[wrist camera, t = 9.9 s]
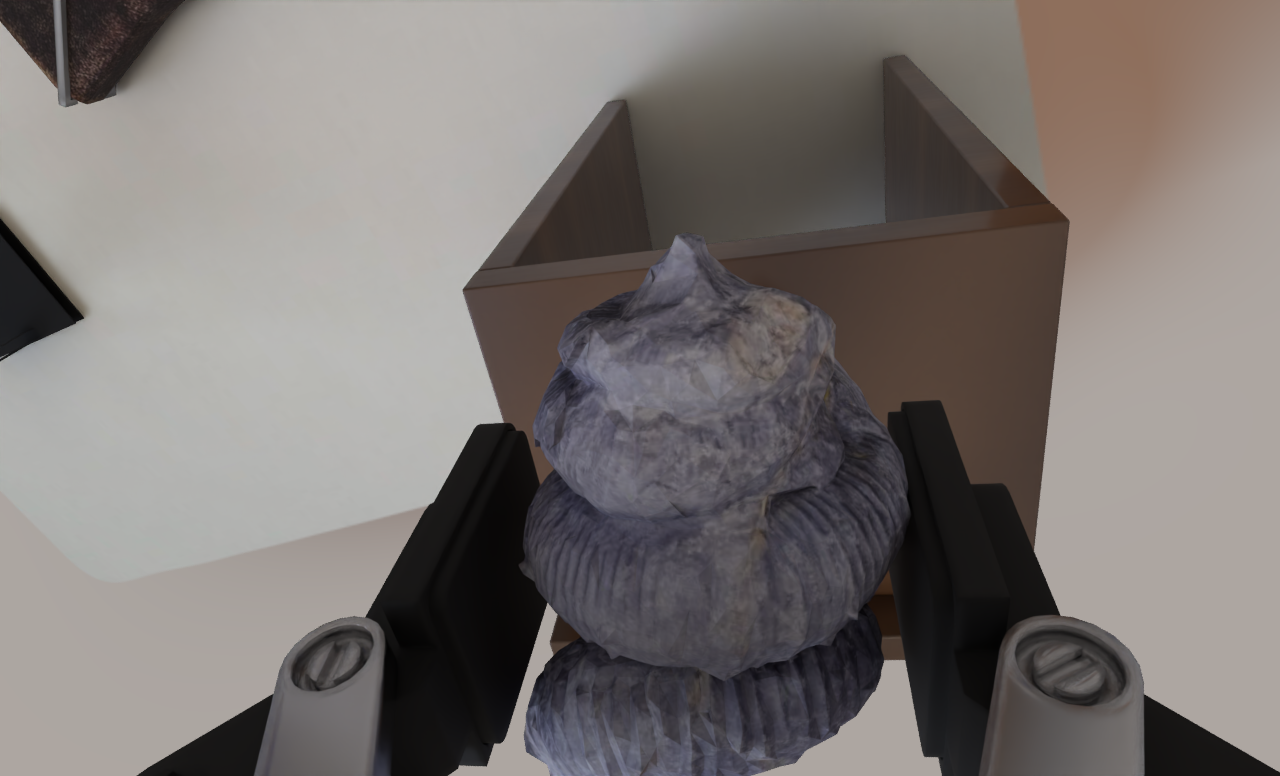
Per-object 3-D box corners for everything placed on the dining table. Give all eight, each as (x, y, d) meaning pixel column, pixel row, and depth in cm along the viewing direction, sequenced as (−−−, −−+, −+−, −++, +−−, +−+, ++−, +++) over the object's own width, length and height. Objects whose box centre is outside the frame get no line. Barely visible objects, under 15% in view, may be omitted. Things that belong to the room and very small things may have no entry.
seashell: (740, 626, 17) (719, 150, 12) (942, 835, 12) (1040, 233, 8) (509, 752, 15) (364, 236, 10) (656, 1054, 10) (535, 416, 5)
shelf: (905, 54, 35) (1098, 247, 15) (906, 295, 41) (1045, 659, 21) (606, 101, 38) (439, 318, 18) (647, 321, 44) (555, 665, 24)
